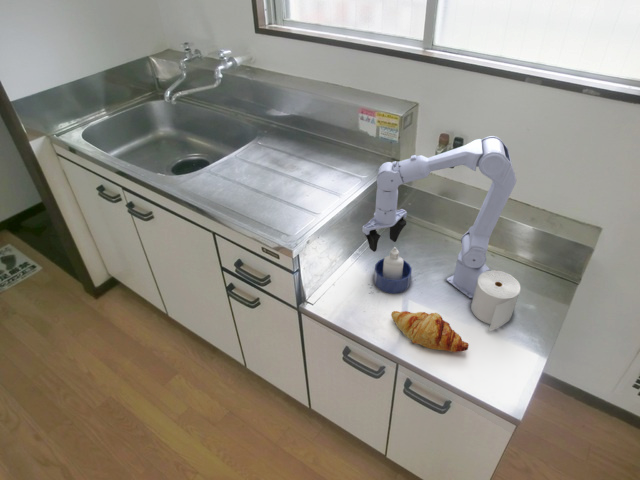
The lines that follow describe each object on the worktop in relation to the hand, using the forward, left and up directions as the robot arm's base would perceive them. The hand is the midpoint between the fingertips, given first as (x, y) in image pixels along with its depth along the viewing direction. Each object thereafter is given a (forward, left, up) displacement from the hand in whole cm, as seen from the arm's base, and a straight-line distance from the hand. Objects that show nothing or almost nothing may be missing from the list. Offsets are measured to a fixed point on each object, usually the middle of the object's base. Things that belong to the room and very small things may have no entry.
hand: (383, 244), depth 131 cm
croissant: (-26, +6, -11) cm, 29 cm away
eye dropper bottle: (-5, 0, -10) cm, 11 cm away
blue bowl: (-5, 0, -10) cm, 12 cm away
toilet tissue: (-30, -14, -11) cm, 35 cm away
